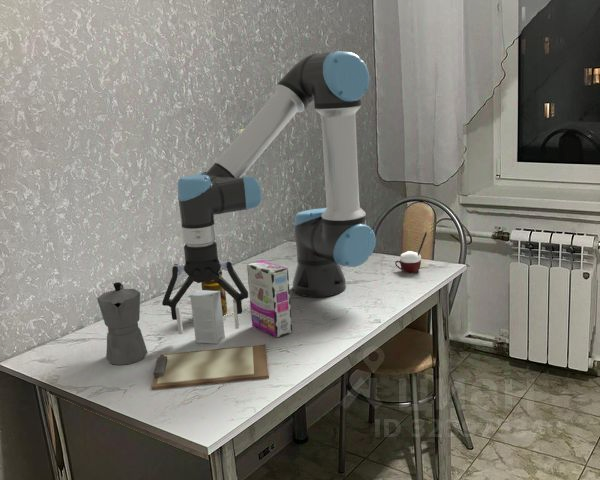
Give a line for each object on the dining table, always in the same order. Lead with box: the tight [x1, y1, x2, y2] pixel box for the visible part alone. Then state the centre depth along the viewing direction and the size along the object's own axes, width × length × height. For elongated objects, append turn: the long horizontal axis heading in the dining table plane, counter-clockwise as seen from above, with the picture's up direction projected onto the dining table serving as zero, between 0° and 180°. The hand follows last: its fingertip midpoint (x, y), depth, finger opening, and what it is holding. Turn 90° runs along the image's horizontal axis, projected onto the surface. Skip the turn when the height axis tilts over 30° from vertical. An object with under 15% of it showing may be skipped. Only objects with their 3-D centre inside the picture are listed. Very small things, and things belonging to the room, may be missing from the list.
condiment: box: [201, 269, 234, 317], centre depth 173 cm, size 7×8×12 cm
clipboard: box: [151, 343, 270, 391], centre depth 143 cm, size 24×16×2 cm, turn 95°
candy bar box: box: [246, 260, 293, 338], centre depth 160 cm, size 11×5×16 cm, turn 37°
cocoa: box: [394, 231, 428, 274], centre depth 197 cm, size 10×6×12 cm, turn 57°
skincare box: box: [189, 289, 226, 345], centre depth 156 cm, size 6×4×12 cm
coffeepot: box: [96, 281, 149, 366], centre depth 150 cm, size 15×9×18 cm, turn 13°
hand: (208, 329), depth 157 cm, fingers open, 13 cm apart
